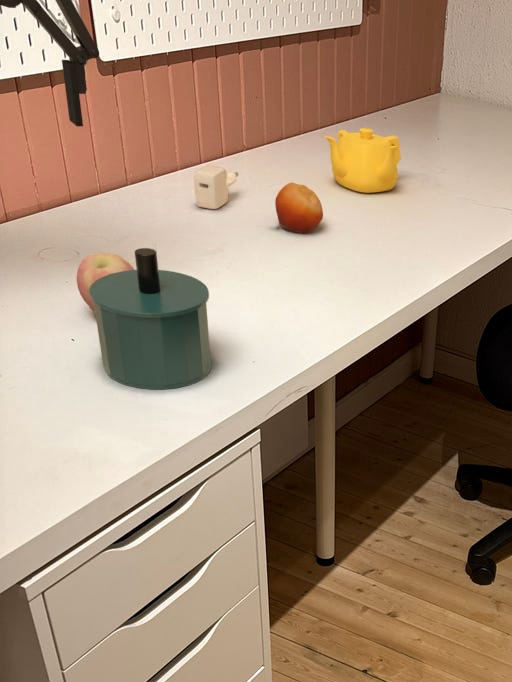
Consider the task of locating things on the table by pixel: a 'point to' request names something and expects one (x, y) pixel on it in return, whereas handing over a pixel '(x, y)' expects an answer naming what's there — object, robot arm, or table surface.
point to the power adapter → (212, 186)
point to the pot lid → (148, 290)
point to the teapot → (365, 160)
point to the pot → (155, 348)
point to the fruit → (298, 208)
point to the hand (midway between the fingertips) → (17, 124)
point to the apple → (98, 272)
